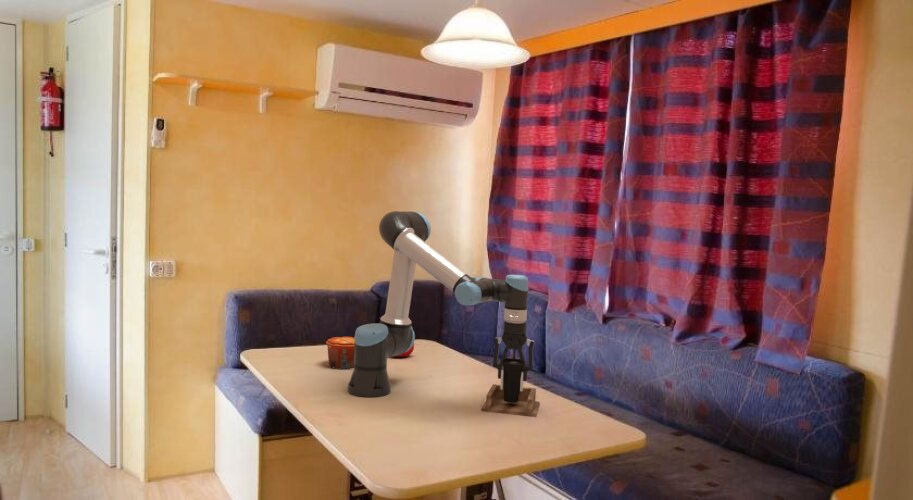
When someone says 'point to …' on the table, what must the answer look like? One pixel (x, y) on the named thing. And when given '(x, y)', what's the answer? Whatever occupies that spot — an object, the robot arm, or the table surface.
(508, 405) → the u rest
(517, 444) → the table surface
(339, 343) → the food container
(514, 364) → the drinking cup
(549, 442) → the table surface
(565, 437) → the table surface
